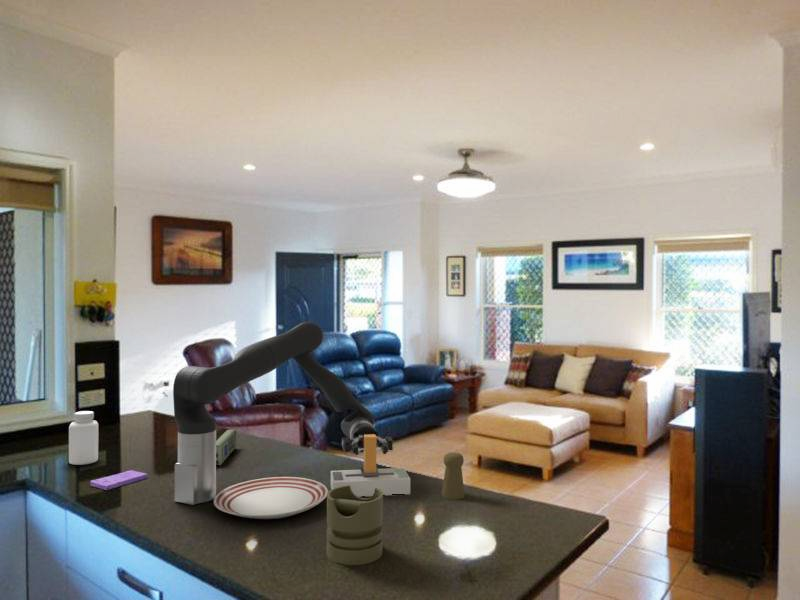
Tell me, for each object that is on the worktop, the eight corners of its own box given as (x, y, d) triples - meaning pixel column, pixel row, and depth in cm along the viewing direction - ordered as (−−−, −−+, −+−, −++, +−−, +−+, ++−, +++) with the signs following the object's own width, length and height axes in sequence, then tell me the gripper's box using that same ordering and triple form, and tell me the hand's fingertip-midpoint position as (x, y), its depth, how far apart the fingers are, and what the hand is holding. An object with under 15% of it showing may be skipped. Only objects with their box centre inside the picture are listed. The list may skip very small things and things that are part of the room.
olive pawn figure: (463, 500, 156) (464, 457, 156) (440, 498, 157) (440, 455, 157) (465, 492, 162) (466, 451, 162) (443, 490, 163) (443, 449, 163)
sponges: (90, 487, 164) (90, 480, 164) (131, 475, 175) (131, 468, 175) (106, 492, 161) (106, 485, 161) (147, 479, 172) (147, 473, 172)
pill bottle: (103, 458, 190) (103, 410, 190) (88, 466, 182) (88, 415, 182) (79, 457, 191) (79, 409, 190) (62, 465, 183) (62, 414, 182)
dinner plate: (212, 533, 134) (212, 518, 134) (214, 492, 161) (215, 479, 161) (336, 521, 142) (336, 507, 142) (319, 484, 168) (319, 472, 168)
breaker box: (333, 498, 157) (333, 482, 157) (330, 485, 167) (330, 470, 167) (410, 494, 160) (410, 478, 160) (403, 482, 170) (403, 467, 170)
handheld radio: (236, 449, 203) (217, 472, 178) (226, 449, 203) (206, 472, 178) (235, 429, 203) (216, 449, 178) (225, 429, 203) (205, 449, 178)
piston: (339, 482, 132) (389, 487, 129) (338, 538, 132) (389, 544, 129) (318, 500, 121) (372, 506, 118) (317, 560, 121) (372, 568, 118)
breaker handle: (362, 476, 161) (362, 438, 161) (360, 471, 165) (361, 434, 165) (379, 475, 162) (379, 437, 161) (376, 470, 166) (377, 433, 166)
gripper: (338, 423, 176) (343, 437, 160) (388, 421, 178) (398, 435, 162) (338, 449, 176) (343, 466, 160) (388, 447, 179) (398, 464, 162)
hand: (371, 450), depth 161 cm, fingers open, 7 cm apart
